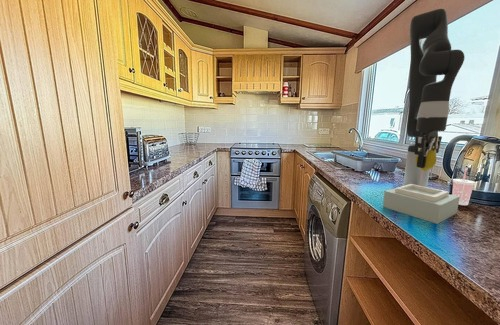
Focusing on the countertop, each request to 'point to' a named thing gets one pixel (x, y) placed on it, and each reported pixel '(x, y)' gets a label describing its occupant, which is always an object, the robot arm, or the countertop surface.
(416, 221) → the countertop surface
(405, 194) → the stand
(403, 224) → the countertop surface
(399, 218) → the countertop surface
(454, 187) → the beverage cup
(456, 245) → the countertop surface
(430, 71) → the robot arm
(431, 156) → the lemon
